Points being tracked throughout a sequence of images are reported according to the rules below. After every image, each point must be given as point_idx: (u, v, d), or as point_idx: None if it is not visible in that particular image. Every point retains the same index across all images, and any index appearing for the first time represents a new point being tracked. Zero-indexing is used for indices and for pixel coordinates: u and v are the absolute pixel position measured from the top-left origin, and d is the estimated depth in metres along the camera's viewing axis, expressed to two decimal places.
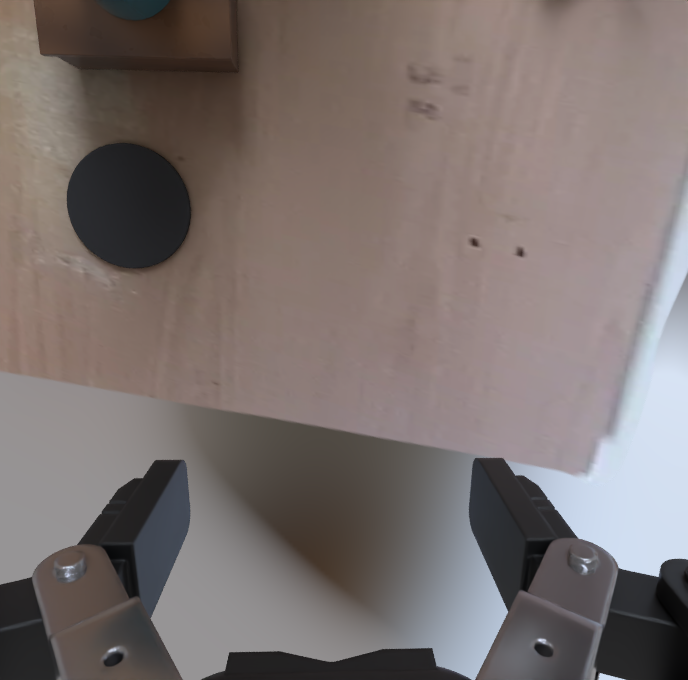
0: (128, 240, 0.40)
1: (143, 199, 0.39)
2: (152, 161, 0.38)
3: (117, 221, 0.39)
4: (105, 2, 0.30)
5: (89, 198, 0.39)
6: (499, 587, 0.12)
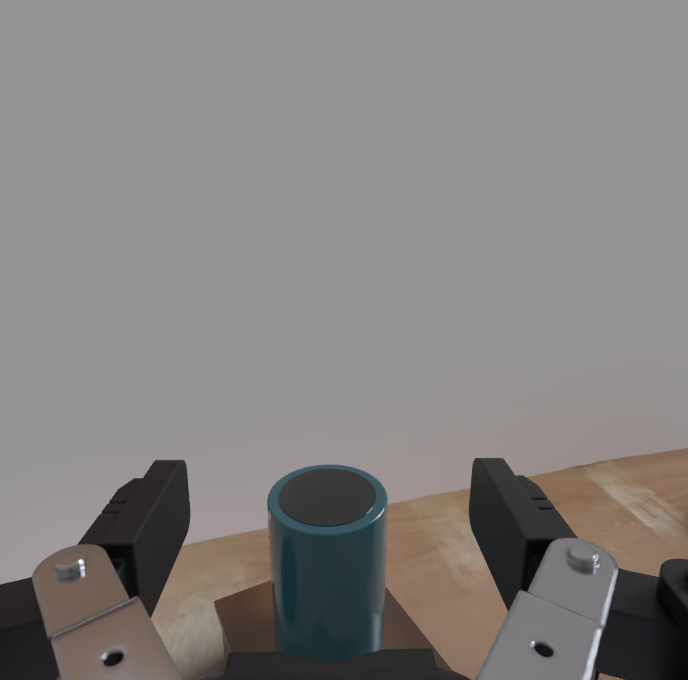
0: None
1: None
2: None
3: None
4: (273, 618, 0.27)
5: None
6: (499, 587, 0.12)
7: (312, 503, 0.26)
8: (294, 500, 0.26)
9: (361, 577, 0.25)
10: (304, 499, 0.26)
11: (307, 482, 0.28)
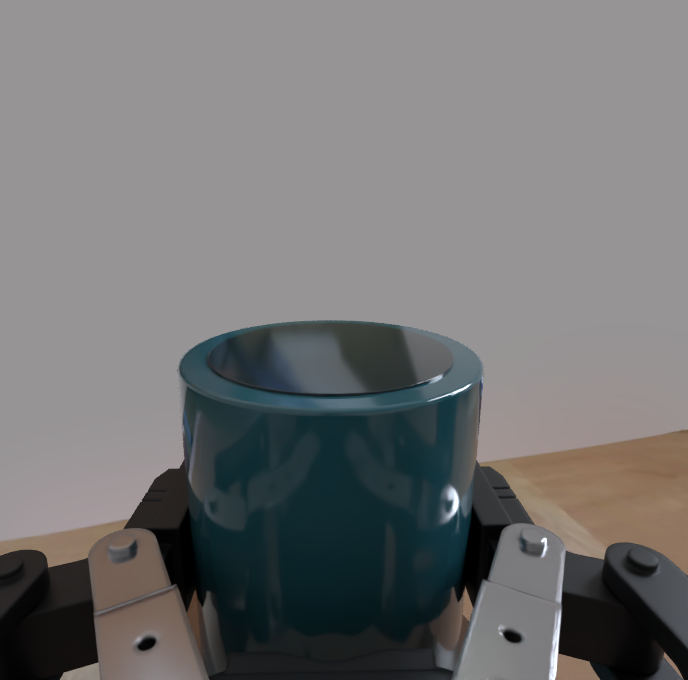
0: None
1: None
2: None
3: None
4: None
5: None
6: None
7: (291, 360, 0.10)
8: (249, 359, 0.10)
9: (421, 551, 0.09)
10: (273, 355, 0.10)
11: (284, 338, 0.12)
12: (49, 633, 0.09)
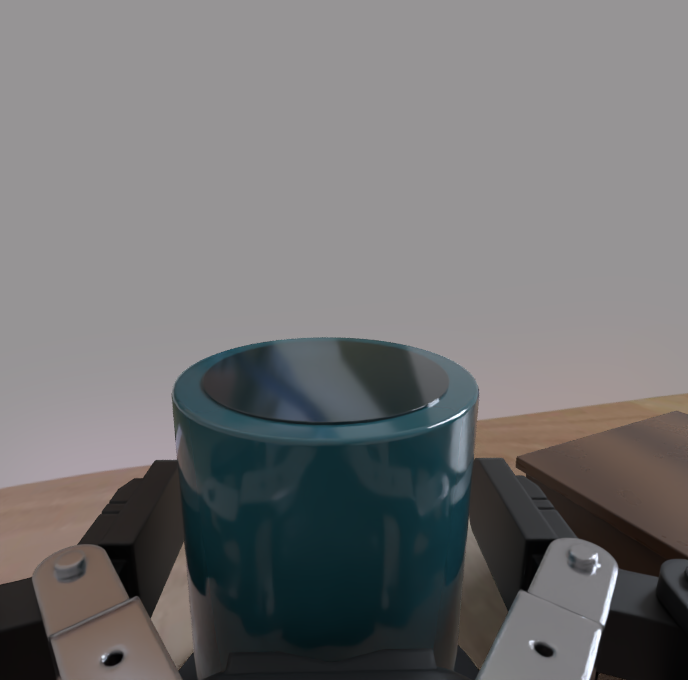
0: None
1: None
2: None
3: None
4: None
5: None
6: (499, 587, 0.12)
7: (285, 384, 0.10)
8: (244, 381, 0.10)
9: (416, 577, 0.09)
10: (268, 378, 0.10)
11: (280, 358, 0.12)
12: None
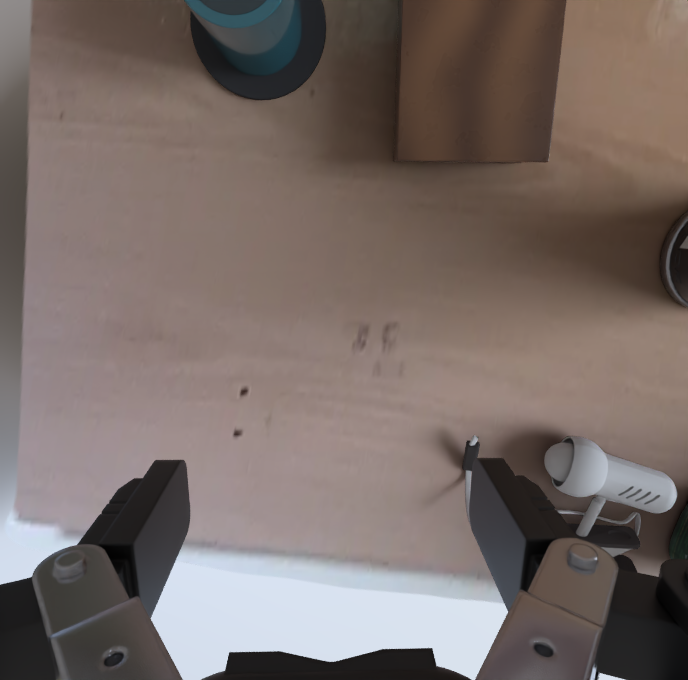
0: None
1: None
2: (307, 60, 0.36)
3: None
4: None
5: None
6: (499, 587, 0.12)
7: None
8: None
9: (247, 45, 0.29)
10: None
11: None
12: None
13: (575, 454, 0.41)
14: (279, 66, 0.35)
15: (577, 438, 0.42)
